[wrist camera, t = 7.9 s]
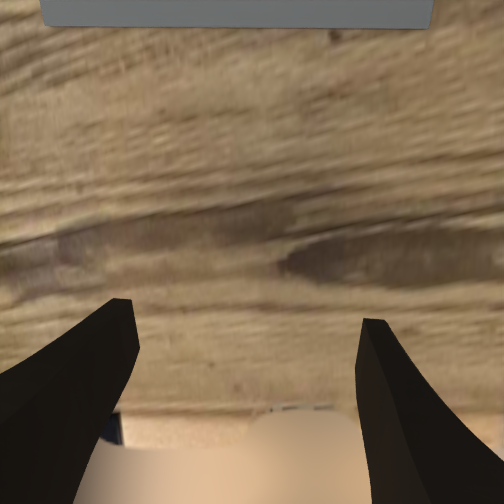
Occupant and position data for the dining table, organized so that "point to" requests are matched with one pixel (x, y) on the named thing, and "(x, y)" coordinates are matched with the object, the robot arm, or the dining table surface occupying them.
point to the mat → (240, 13)
